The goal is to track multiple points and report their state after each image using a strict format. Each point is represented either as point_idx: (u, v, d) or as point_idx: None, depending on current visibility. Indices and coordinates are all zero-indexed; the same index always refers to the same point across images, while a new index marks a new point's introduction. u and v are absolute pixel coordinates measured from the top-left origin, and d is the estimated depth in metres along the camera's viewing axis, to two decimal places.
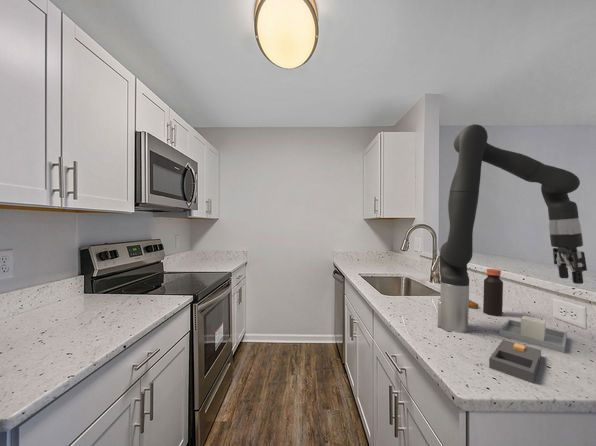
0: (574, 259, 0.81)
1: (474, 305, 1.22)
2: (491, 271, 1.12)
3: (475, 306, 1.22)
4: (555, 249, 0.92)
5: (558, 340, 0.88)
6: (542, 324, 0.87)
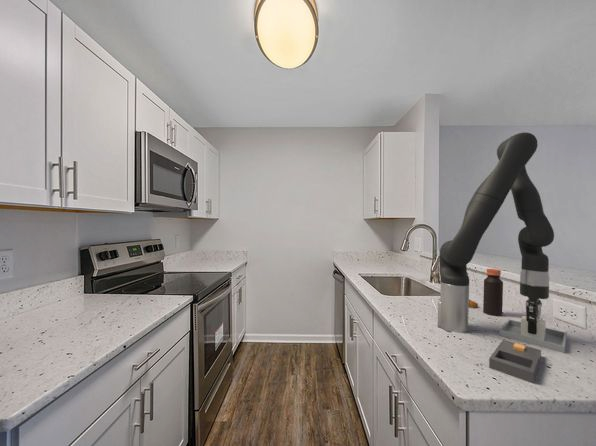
0: None
1: (474, 304, 1.23)
2: (491, 271, 1.12)
3: (475, 305, 1.23)
4: None
5: (558, 340, 0.88)
6: (542, 324, 0.87)
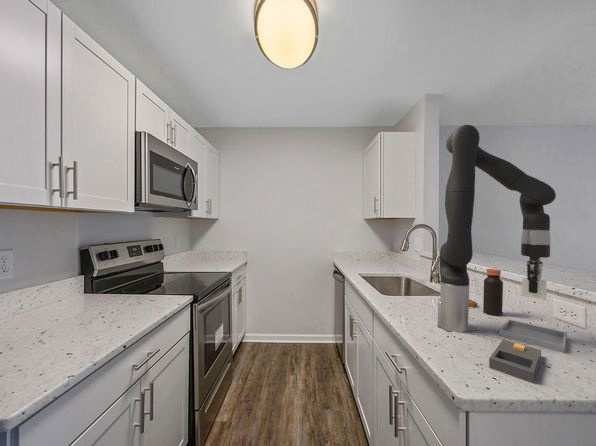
0: None
1: (474, 304, 1.24)
2: (491, 271, 1.12)
3: (475, 305, 1.23)
4: None
5: (558, 340, 0.88)
6: (543, 283, 0.87)
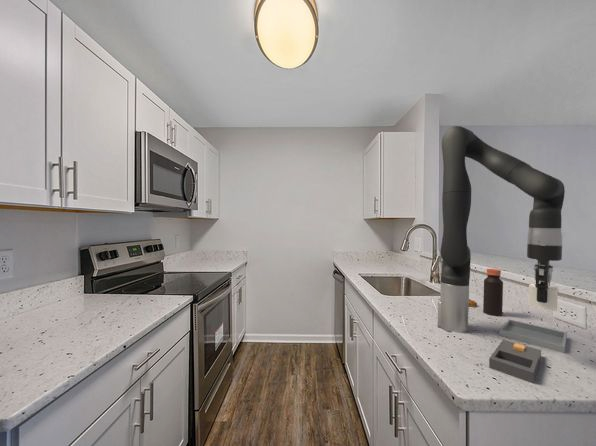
0: (535, 276, 0.74)
1: (473, 304, 1.24)
2: (491, 271, 1.12)
3: (474, 304, 1.24)
4: None
5: (558, 340, 0.88)
6: (554, 290, 0.74)
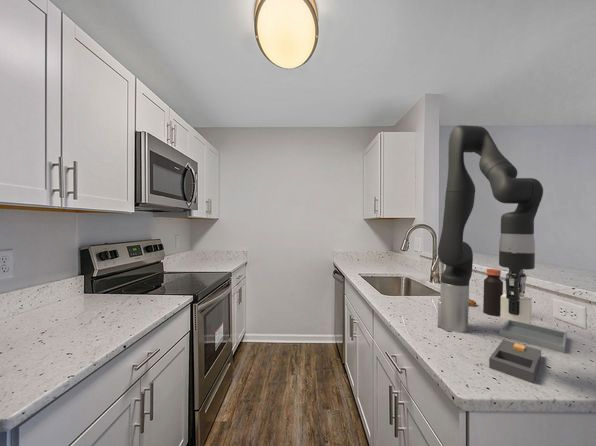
0: (506, 286, 0.68)
1: (473, 303, 1.25)
2: (491, 271, 1.12)
3: (474, 304, 1.25)
4: None
5: (558, 340, 0.88)
6: (527, 302, 0.68)
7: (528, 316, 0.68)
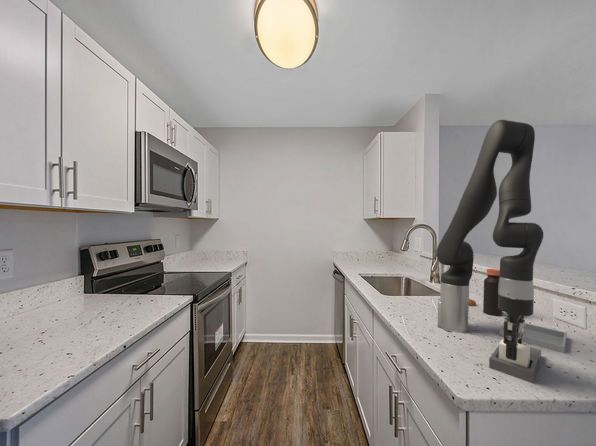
0: (504, 330, 0.68)
1: (472, 303, 1.26)
2: (491, 271, 1.12)
3: (473, 303, 1.26)
4: None
5: (558, 340, 0.88)
6: (525, 352, 0.68)
7: (526, 366, 0.68)
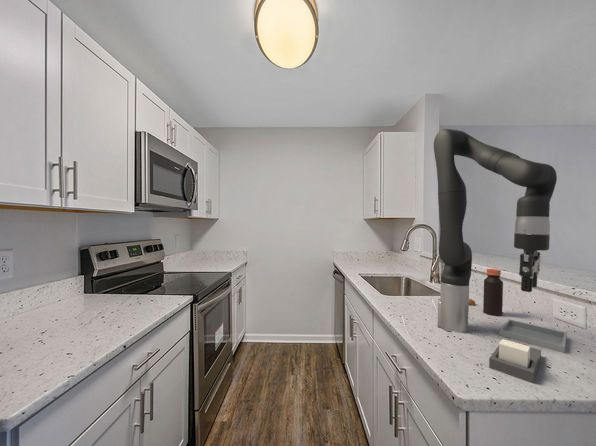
0: (520, 262, 0.71)
1: (472, 302, 1.26)
2: (491, 271, 1.12)
3: (473, 303, 1.26)
4: None
5: (558, 340, 0.88)
6: (525, 352, 0.68)
7: (526, 366, 0.68)
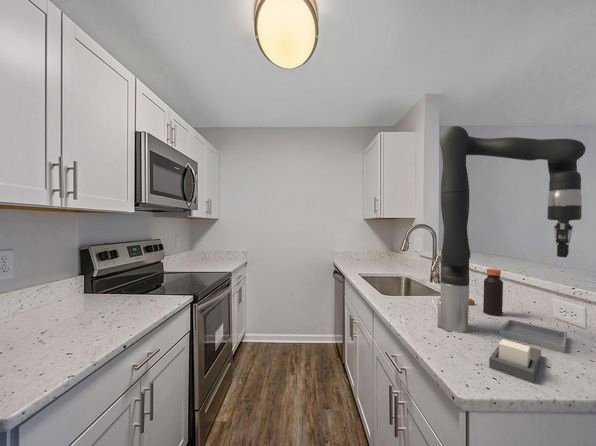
0: (556, 230, 0.78)
1: (472, 302, 1.27)
2: (491, 271, 1.12)
3: (472, 303, 1.27)
4: None
5: (558, 340, 0.88)
6: (525, 352, 0.68)
7: (526, 366, 0.68)
